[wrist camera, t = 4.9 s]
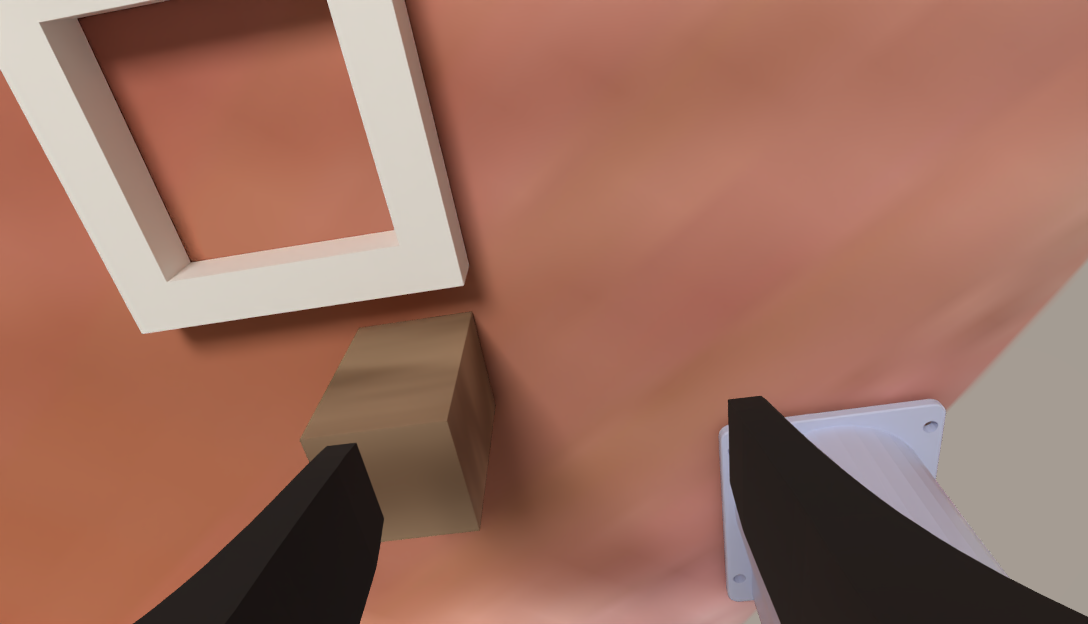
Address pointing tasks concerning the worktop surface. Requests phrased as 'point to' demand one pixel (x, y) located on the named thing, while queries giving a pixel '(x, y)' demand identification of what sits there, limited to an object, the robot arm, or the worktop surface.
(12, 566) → the worktop surface
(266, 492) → the worktop surface
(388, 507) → the brown block
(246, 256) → the white square frame
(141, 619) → the robot arm
